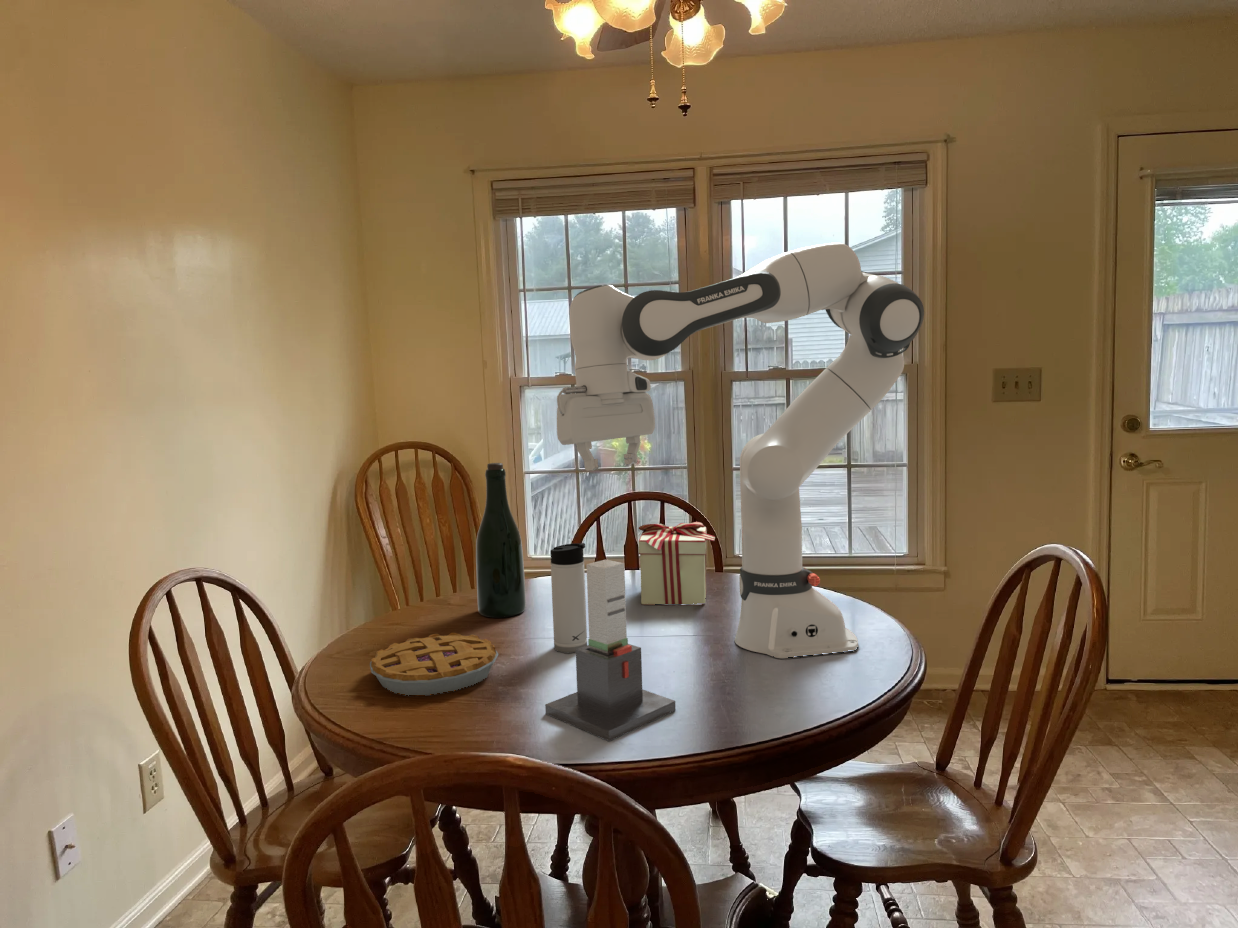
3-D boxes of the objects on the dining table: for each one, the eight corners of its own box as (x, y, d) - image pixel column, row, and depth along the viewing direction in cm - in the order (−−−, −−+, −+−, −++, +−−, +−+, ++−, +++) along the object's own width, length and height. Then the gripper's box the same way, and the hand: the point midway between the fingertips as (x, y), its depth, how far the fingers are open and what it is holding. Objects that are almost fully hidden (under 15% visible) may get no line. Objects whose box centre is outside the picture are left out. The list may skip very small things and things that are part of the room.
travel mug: (584, 653, 150) (580, 547, 148) (550, 652, 151) (545, 547, 149) (592, 642, 156) (588, 540, 154) (559, 641, 157) (555, 540, 155)
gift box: (640, 610, 176) (637, 532, 174) (640, 588, 195) (638, 517, 193) (718, 609, 176) (717, 530, 174) (712, 586, 194) (710, 515, 192)
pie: (357, 670, 146) (355, 643, 145) (473, 646, 157) (471, 621, 156) (389, 711, 127) (387, 680, 127) (518, 681, 138) (517, 652, 138)
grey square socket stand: (611, 687, 134) (609, 623, 132) (675, 710, 124) (673, 641, 122) (545, 713, 124) (542, 645, 123) (609, 741, 114) (606, 666, 113)
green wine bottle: (525, 603, 185) (518, 459, 181) (527, 616, 174) (520, 464, 171) (478, 607, 183) (470, 461, 179) (478, 620, 173) (469, 466, 169)
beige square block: (609, 669, 126) (605, 559, 124) (629, 675, 123) (625, 563, 121) (589, 676, 123) (585, 564, 121) (609, 683, 120) (605, 568, 118)
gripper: (569, 385, 126) (579, 473, 127) (656, 380, 141) (665, 459, 141) (543, 389, 131) (553, 475, 131) (630, 384, 145) (638, 461, 146)
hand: (612, 466), depth 136 cm, fingers open, 8 cm apart
